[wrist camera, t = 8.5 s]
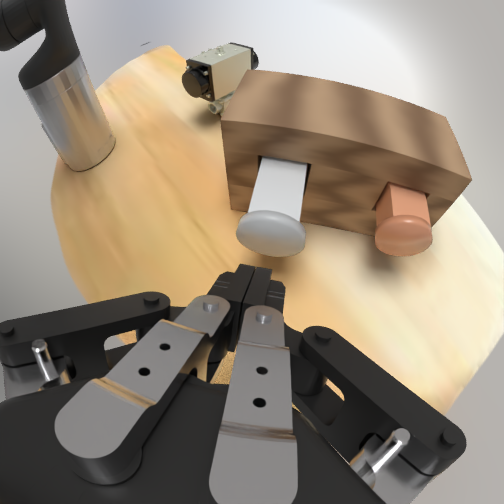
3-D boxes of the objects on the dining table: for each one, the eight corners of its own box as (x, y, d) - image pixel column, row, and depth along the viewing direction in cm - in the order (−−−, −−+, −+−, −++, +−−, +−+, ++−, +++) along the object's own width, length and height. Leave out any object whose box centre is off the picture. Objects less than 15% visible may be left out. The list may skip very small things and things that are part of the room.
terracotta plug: (366, 250, 25) (389, 218, 20) (364, 168, 30) (378, 133, 25) (414, 260, 25) (443, 232, 20) (405, 179, 29) (423, 148, 24)
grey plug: (237, 250, 25) (233, 215, 20) (260, 163, 30) (261, 124, 25) (299, 261, 25) (310, 229, 20) (310, 171, 29) (319, 133, 24)
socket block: (231, 209, 32) (220, 119, 21) (249, 151, 37) (247, 69, 25) (414, 245, 30) (472, 179, 18) (406, 184, 34) (445, 116, 23)
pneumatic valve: (259, 100, 43) (259, 39, 32) (208, 131, 39) (198, 63, 28) (236, 90, 44) (233, 33, 33) (186, 119, 40) (173, 56, 30)
